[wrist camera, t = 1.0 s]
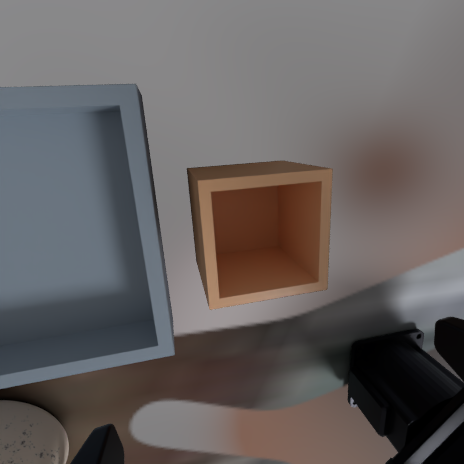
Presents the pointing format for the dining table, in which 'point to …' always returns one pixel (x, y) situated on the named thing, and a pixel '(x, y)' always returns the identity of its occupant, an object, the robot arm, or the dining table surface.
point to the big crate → (78, 234)
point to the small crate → (260, 230)
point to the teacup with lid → (30, 435)
